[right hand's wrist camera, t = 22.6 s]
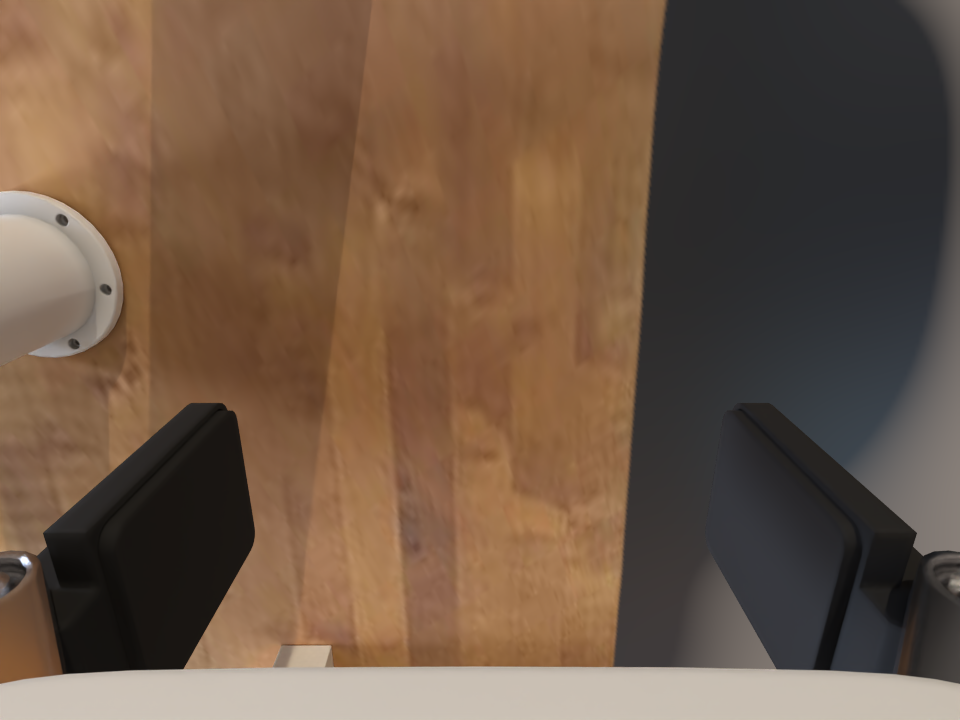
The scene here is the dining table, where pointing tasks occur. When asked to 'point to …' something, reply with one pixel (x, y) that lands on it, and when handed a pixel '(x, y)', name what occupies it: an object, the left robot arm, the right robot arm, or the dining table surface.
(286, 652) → the block
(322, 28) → the dining table surface
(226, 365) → the dining table surface
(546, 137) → the dining table surface
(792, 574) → the right robot arm
